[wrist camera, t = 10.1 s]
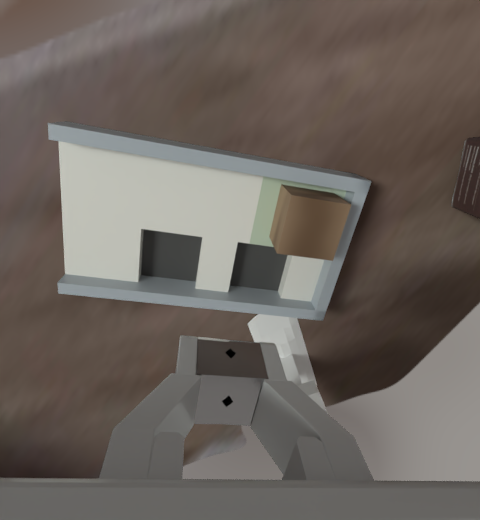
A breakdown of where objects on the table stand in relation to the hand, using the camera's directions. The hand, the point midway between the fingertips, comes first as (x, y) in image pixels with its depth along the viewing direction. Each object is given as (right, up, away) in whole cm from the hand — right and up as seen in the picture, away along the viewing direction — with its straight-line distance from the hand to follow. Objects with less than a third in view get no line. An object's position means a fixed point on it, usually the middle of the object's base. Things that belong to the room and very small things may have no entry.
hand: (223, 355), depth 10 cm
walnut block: (+6, +7, +17) cm, 19 cm away
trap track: (-3, +6, +18) cm, 19 cm away
